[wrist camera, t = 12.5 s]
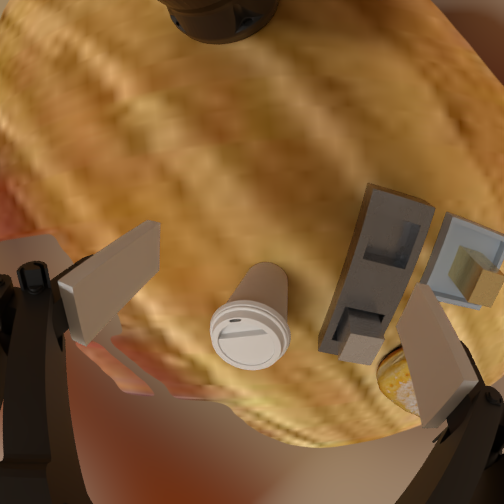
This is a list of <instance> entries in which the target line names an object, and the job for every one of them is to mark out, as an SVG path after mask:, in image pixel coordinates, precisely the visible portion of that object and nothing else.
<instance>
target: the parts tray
mask: <svg viewBox="0 0 504 504" xmlns="http://www.w3.org/2000/svg"><path fill="white" fill-rule="evenodd" d="M459 245H460V246H463V247H466V248H469V249H472V250H475V251H478V252H481V253H482V254H483V255H485V256H486V257H487V258H488V259H489V260H490V261H491V262H492V263H493V264H494V265H495V266H496V267H497V268H498V269H500V266H501V264H502V262H503V259H504V234H502V233H499V232H497V231H495V230H492V229H490V228H488V227H485V226H483V225H480V224H478V223H475V222H473V221H470V220H467V219H465V218H462V217H460V216H457V215H454V214H451V213H449V212H446V214H445V217H444V220H443V223H442V226H441V229H440V232H439V235H438V238H437V240H436V243H435V246H434V248H433V251H432V254H431V256H430V259H429V261H428V264H427V266H426V269H425V271H424V274H423V276H422V278H421V281H420V283H421V284H425V285H429V286H430V288H431V290H432V291H433V293H434V295H435V296H436V298H437V300H438V301H440V302H445V303H449V304H453V305H458V306H462V307H467V308H471V309H476V310H480V308H481V306H482V305H477V304H473V303H469V302H467V301H466V299H465V298H464V296H463V295H462V293H461V292H460V291H459V289H458V288H457V287H456V285H455V284H454V282H453V281H452V280H451V278H450V277H449V276H448V273H449V270H450V268H451V266H452V263H453V261H454V258H455V256H456V253H457V251H458V248H459Z"/></svg>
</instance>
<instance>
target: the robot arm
mask: <svg viewBox="0 0 504 504" xmlns="http://www.w3.org/2000/svg"><path fill="white" fill-rule="evenodd" d="M158 1H160V2H161V3H163V4H165V5H166V6H167V9H168V11H169V14H170V16H171V19H172V21H173V22H174V24H175V25H176V27H177V28H178V29H179V30H180V31H182V32H183V33H185V34H186V35H188V36H189V37H191V38H193V39H195V40H197V41H200V42H203V43H209V44H224V43H231V42H235V41H238V40H241V39H244V38H246V37H248V36H250V35H252V34H254V33H255V32H257V31H258V30H260V29H261V28H262V27H264V26H265V25H266V24H267V23H268V21H269V20H270V19H271V18H272V16H273V15H274V13H275V11H276V8H277V5H278V0H158ZM159 252H160V223H159V222H155V221H150V220H147V221H145V222H143V223H142V224H140V225H139V226H137V227H135V228H134V229H132V230H131V231H129V232H128V233H126V234H125V235H123V236H121V237H120V238H118V239H117V240H115V241H114V242H112V243H111V244H109V245H108V246H106V247H105V248H103V249H102V250H100V251H99V252H97V253H96V254H94V255H93V254H92V255H90V256H87V257H84V258H82V259H80V260H79V261H77V262H76V263H75V264H74V265H72V266H70V267H69V268H68V269H66V270H64V271H63V272H62V273H60V274H59V275H57V276H56V277H55V278H53V279H52V280H51V281H50V278H49V273H48V268H47V264H45V263H44V262H41V261H32V262H28V263H26V264H23V265H22V266H20V267H19V269H18V270H17V275H18V279H19V283H20V287H21V288H18V287H13V284H12V280H11V277H10V276H9V275H5V274H3V275H1V274H0V410H1V405H2V402H3V399H4V402H3V450H4V458H3V460H2V461H0V504H93V503H92V501H91V500H90V498H89V496H88V494H87V492H86V488H85V484H84V481H83V477H82V473H81V469H80V465H79V460H78V455H77V450H76V445H75V440H74V434H73V428H72V421H71V414H70V407H69V398H68V386H67V373H66V350H65V337H64V334H63V333H64V332H65V331H66V330H68V329H69V330H70V334H71V337H72V340H74V341H76V342H78V343H80V344H82V345H84V346H87V345H88V344H89V343H90V342H91V341H92V339H93V338H94V337H95V336H96V335H97V334H98V333H99V332H100V331H101V330H102V329H103V328H104V327H105V325H106V324H107V323H108V322H109V321H110V320H111V319H112V318H113V317H114V316H115V315H116V314H117V313H118V312H119V311H120V310H121V309H122V308H123V307H124V305H125V304H126V303H127V302H128V301H129V300H130V299H131V298H132V297H133V296H134V295H135V294H136V293H137V292H138V291H139V290H140V289H141V288H142V287H143V286H144V285H145V284H146V283H147V282H148V281H149V280H150V279H151V278H152V277H153V276H154V275H155V274H156V273H157V272H158V271H159ZM396 328H397V331H398V334H399V337H400V340H401V344H402V347H403V350H404V354H405V357H406V361H407V364H408V368H409V372H410V376H411V379H412V383H413V387H414V391H415V396H416V400H417V404H418V409H419V413H420V418H421V423H422V428H438V427H439V426H440V425H441V424H442V423H443V422H444V421H445V420H446V419H447V423H448V427H447V428H445V430H444V431H442V432H441V433H440V434H439V435H438V436H437V437H436V438H435V439H434V440H433V441H432V442H433V443H434V442H436V441H437V440H438V441H437V443H436V444H435V447H434V448H433V450H432V451H431V453H430V454H429V456H428V458H427V459H426V461H425V463H424V464H423V466H422V467H421V468H420V470H419V471H418V473H417V474H416V476H415V477H414V479H413V480H412V481H411V483H410V484H409V486H408V487H407V488H406V490H405V491H404V492H403V494H402V495H401V496H400V498H399V499H398V500H397V501H396V503H395V504H504V454H502V449H503V448H504V401H503V398H502V396H501V395H500V393H499V392H498V391H497V390H496V389H495V388H493V387H491V386H485V383H484V381H483V379H482V376H481V374H480V372H479V370H478V368H477V366H476V365H475V361H474V359H473V358H472V355H471V353H470V351H469V349H468V348H467V347H466V346H465V344H464V343H463V342H462V341H460V340H459V338H458V336H457V334H456V332H455V330H454V329H453V327H452V325H451V323H450V321H449V319H448V317H447V316H446V314H445V312H444V310H443V308H442V307H441V305H440V303H439V302H438V300H437V298H436V296H435V295H434V293H433V291H432V290H431V288H430V286H429V285H425V284H421V283H416V285H415V288H414V290H413V292H412V294H411V296H410V299H409V301H408V303H407V305H406V307H405V309H404V311H403V313H402V315H401V317H400V319H399V321H398V323H397V325H396Z"/></svg>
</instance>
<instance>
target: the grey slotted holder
mask: <svg viewBox="0 0 504 504" xmlns="http://www.w3.org/2000/svg"><path fill="white" fill-rule="evenodd" d="M434 211H435V207H433V206H432V205H431V204H429V203H428V202H426V201H425V200H422V199H419V198H416V197H413V196H410V195H407V194H404V193H400V192H397V191H394V190H391V189H387V188H384V187H381V186H377V185H374V184H370V183H367V187H366V191H365V194H364V198H363V202H362V206H361V209H360V213H359V216H358V220H357V223H356V227H355V230H354V234H353V237H352V240H351V244H350V247H349V250H348V253H347V256H346V260H345V263H344V266H343V269H342V272H341V275H340V278H339V281H338V284H337V287H336V290H335V292H334V295H333V298H332V301H331V304H330V306H329V309H328V312H327V315H326V317H325V320H324V323H323V325H322V328H321V330H320V333H319V337H318V351H320V352H325V353H330V354H335V355H338V344H337V326H338V323H339V321H340V318H341V316H342V313H343V311H344V308H345V307H350V308H354V309H359V310H364V311H368V312H373V313H378V315H379V319H380V323H381V327H382V331H383V334H384V333H385V331H386V329H387V327H388V325H389V323H390V321H391V319H392V317H393V315H394V313H395V311H396V309H397V306H398V304H399V302H400V300H401V298H402V296H403V293H404V291H405V289H406V286H407V284H408V282H409V279H410V277H411V275H412V272H413V270H414V267H415V265H416V262H417V260H418V257H419V255H420V252H421V249H422V247H423V244H424V241H425V238H426V235H427V233H428V230H429V227H430V224H431V221H432V218H433V215H434Z"/></svg>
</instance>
